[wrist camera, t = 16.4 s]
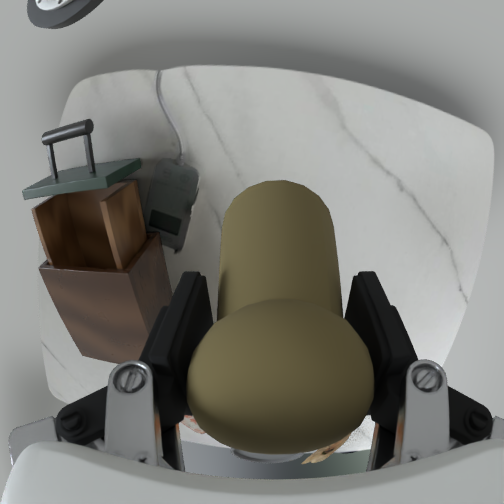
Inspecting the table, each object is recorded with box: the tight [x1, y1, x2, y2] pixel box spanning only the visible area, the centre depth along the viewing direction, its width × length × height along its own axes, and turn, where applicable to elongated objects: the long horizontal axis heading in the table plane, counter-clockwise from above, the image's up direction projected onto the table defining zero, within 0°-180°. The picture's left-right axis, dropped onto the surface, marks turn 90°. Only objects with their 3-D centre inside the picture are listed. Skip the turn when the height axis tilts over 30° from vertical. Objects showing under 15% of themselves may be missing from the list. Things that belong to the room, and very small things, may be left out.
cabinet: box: [39, 232, 173, 364], centre depth 36 cm, size 17×15×10 cm
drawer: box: [22, 119, 148, 269], centre depth 29 cm, size 21×13×8 cm, turn 1°
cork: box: [186, 180, 374, 455], centre depth 10 cm, size 6×6×11 cm
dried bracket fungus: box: [302, 433, 351, 464], centre depth 61 cm, size 18×14×8 cm
